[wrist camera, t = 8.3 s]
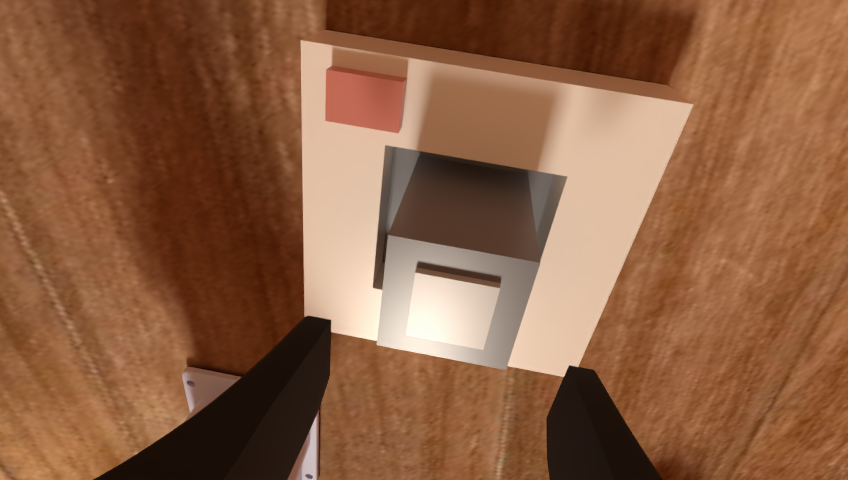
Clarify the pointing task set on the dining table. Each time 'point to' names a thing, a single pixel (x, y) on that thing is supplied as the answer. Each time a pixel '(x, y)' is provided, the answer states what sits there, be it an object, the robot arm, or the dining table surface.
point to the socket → (483, 146)
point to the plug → (459, 263)
